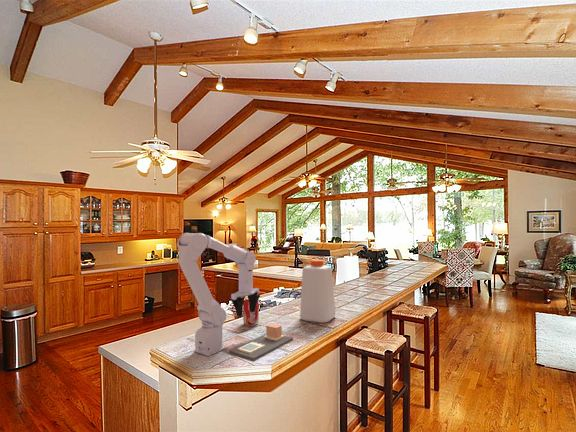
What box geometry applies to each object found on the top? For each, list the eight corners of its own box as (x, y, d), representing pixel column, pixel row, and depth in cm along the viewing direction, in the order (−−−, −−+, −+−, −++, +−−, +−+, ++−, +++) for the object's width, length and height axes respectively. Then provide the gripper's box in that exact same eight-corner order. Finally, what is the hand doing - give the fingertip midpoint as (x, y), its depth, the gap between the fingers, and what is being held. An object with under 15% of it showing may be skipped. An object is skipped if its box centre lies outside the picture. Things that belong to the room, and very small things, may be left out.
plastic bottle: (297, 320, 151) (296, 261, 152) (309, 312, 164) (309, 258, 165) (326, 324, 144) (325, 262, 145) (337, 316, 157) (336, 259, 158)
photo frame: (250, 353, 110) (250, 351, 110) (237, 350, 114) (237, 348, 114) (264, 346, 117) (264, 344, 117) (252, 343, 120) (252, 341, 120)
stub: (276, 340, 122) (276, 328, 122) (264, 337, 126) (264, 326, 126) (283, 336, 126) (283, 325, 126) (272, 334, 130) (271, 322, 130)
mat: (254, 360, 106) (254, 358, 106) (228, 352, 113) (228, 350, 113) (292, 339, 125) (292, 337, 125) (269, 334, 132) (269, 332, 132)
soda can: (244, 327, 142) (244, 300, 142) (242, 322, 148) (242, 296, 149) (260, 325, 144) (259, 299, 144) (257, 321, 150) (257, 295, 151)
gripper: (240, 284, 121) (240, 320, 121) (264, 278, 133) (265, 311, 133) (227, 282, 125) (227, 317, 125) (252, 277, 137) (252, 308, 137)
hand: (246, 314), depth 129 cm, fingers open, 7 cm apart
